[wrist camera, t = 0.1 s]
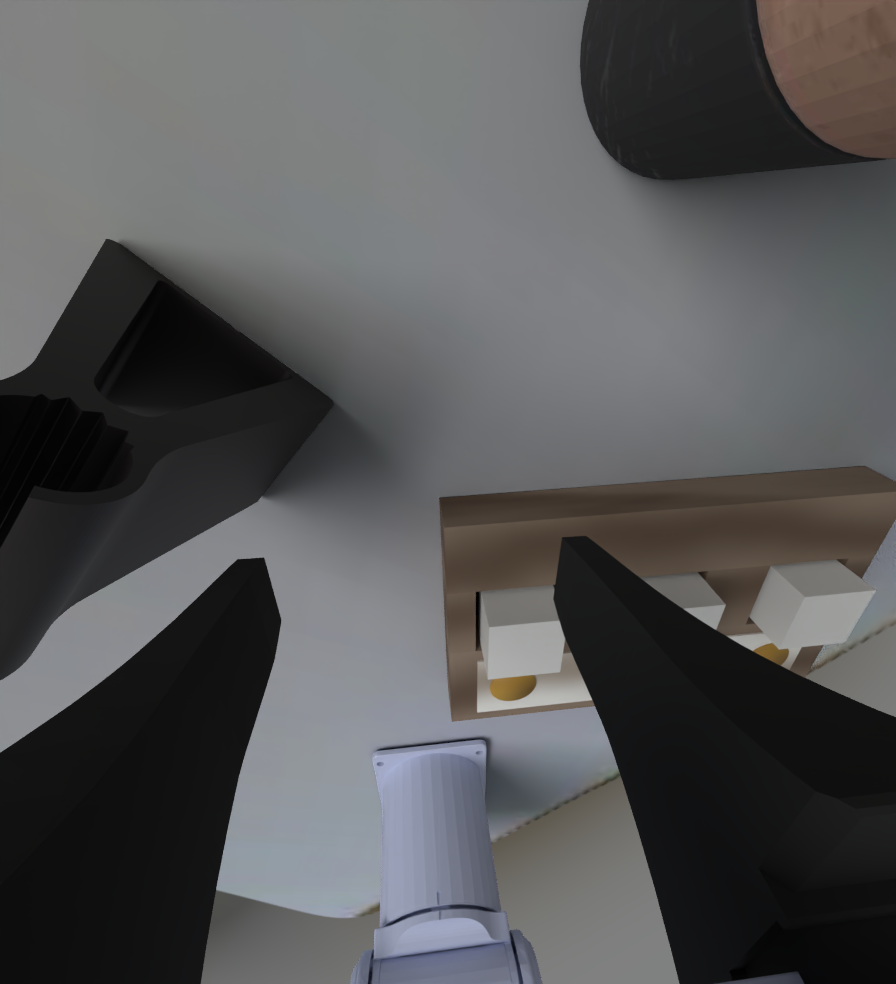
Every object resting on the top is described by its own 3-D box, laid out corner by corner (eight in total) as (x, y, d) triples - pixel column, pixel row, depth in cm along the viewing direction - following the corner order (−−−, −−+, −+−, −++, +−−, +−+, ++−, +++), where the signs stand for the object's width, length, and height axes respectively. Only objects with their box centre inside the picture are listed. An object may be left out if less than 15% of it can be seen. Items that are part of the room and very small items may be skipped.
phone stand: (335, 402, 19) (263, 609, 9) (259, 497, 21) (125, 760, 11) (114, 237, 15) (-459, 258, 5) (46, 370, 17) (-470, 583, 7)
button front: (543, 626, 25) (560, 672, 22) (478, 632, 25) (487, 679, 22) (548, 575, 23) (567, 619, 20) (478, 581, 23) (489, 627, 20)
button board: (773, 651, 30) (804, 686, 28) (447, 684, 29) (452, 724, 27) (864, 466, 23) (916, 492, 21) (439, 498, 22) (444, 530, 20)
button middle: (674, 613, 25) (705, 657, 23) (612, 619, 25) (636, 664, 23) (689, 563, 24) (725, 604, 21) (622, 569, 23) (651, 611, 21)
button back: (800, 601, 26) (844, 642, 23) (740, 606, 26) (778, 649, 23) (825, 551, 24) (876, 590, 22) (760, 556, 24) (805, 597, 21)
